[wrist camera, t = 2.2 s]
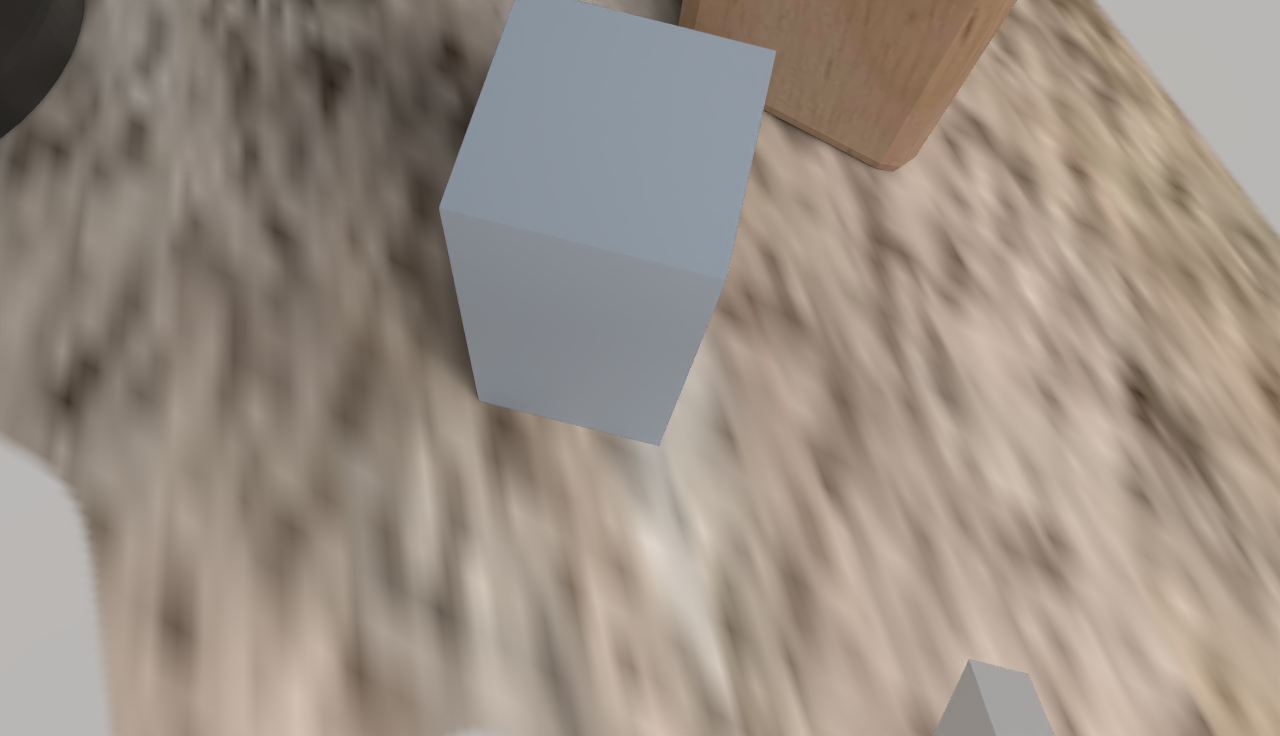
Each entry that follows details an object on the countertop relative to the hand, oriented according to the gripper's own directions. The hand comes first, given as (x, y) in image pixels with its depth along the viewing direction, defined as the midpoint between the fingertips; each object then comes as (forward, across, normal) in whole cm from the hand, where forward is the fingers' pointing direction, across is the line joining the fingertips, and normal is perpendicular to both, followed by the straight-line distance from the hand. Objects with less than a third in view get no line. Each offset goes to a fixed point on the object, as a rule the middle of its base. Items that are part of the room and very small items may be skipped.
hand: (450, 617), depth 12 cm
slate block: (+19, 0, -3) cm, 19 cm away
